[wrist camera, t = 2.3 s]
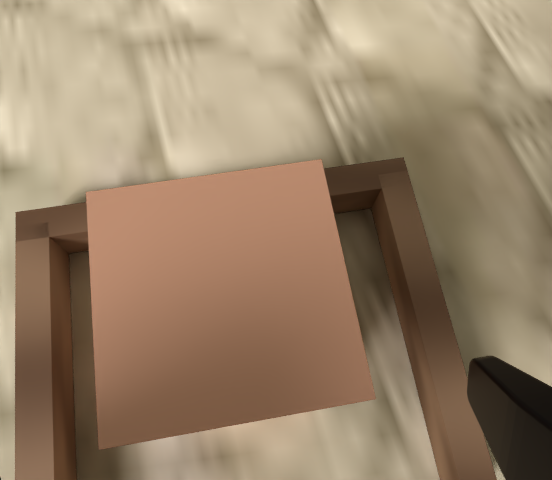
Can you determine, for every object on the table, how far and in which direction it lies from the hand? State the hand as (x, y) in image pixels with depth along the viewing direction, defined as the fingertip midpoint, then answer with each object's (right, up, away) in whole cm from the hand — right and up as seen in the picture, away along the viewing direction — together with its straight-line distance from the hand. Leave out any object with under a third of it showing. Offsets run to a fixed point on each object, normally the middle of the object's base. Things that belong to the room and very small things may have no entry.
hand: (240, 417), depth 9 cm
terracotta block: (-1, -1, +10) cm, 10 cm away
